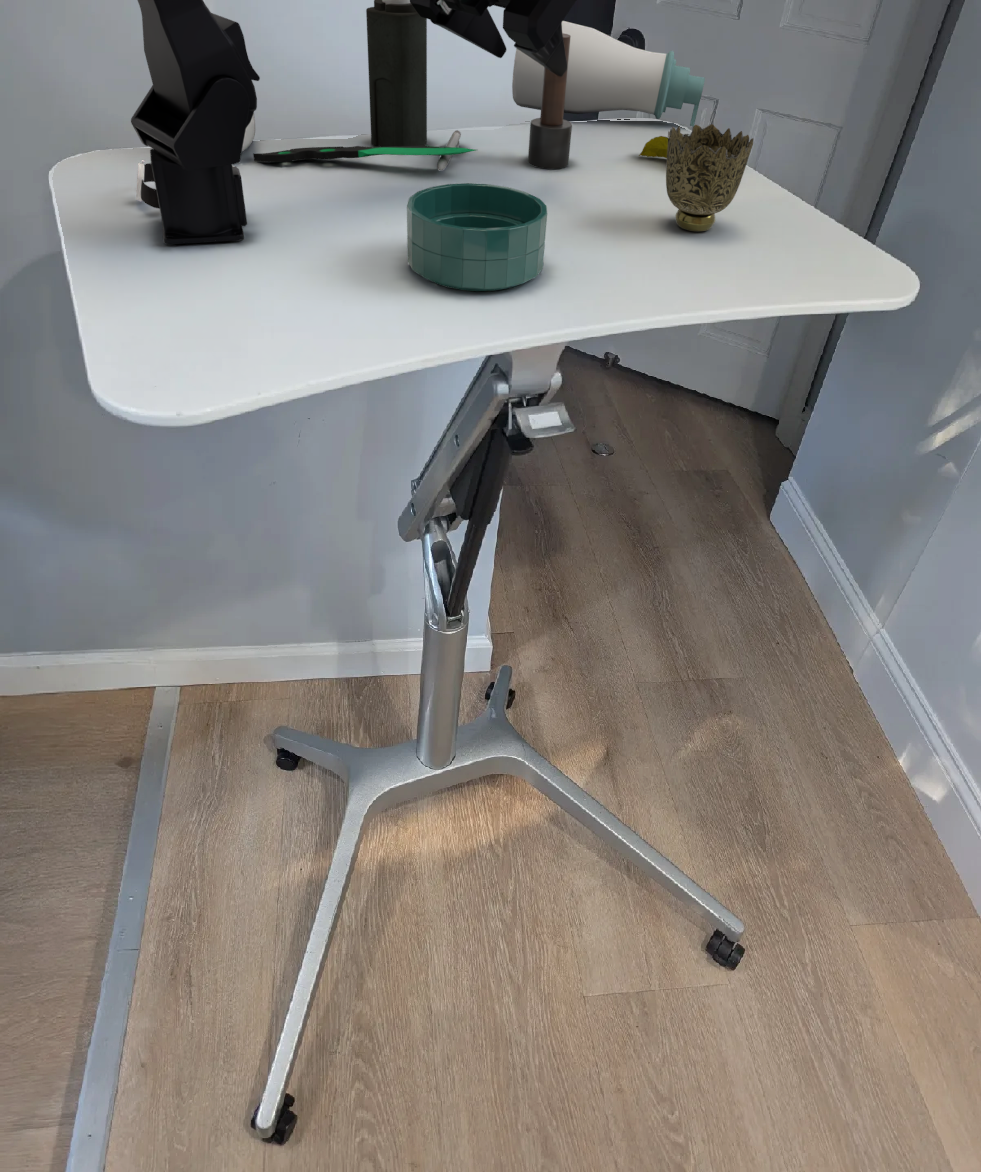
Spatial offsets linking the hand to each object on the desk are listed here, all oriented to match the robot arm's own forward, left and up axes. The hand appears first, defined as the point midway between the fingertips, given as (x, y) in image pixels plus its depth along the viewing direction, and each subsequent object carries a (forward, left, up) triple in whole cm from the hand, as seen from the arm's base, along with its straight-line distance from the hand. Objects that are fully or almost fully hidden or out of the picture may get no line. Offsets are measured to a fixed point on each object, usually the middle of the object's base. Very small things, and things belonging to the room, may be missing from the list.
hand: (532, 63), depth 89 cm
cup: (+10, -20, -10) cm, 24 cm away
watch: (-37, -6, -10) cm, 39 cm away
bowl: (-13, -26, -10) cm, 30 cm away
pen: (-8, +3, -10) cm, 13 cm away
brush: (+3, +1, -10) cm, 10 cm away
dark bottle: (-11, +10, -10) cm, 18 cm away
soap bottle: (+6, +24, -4) cm, 25 cm away
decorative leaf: (+17, -2, -10) cm, 20 cm away
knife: (-18, 0, -8) cm, 20 cm away
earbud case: (-32, +11, -4) cm, 34 cm away
